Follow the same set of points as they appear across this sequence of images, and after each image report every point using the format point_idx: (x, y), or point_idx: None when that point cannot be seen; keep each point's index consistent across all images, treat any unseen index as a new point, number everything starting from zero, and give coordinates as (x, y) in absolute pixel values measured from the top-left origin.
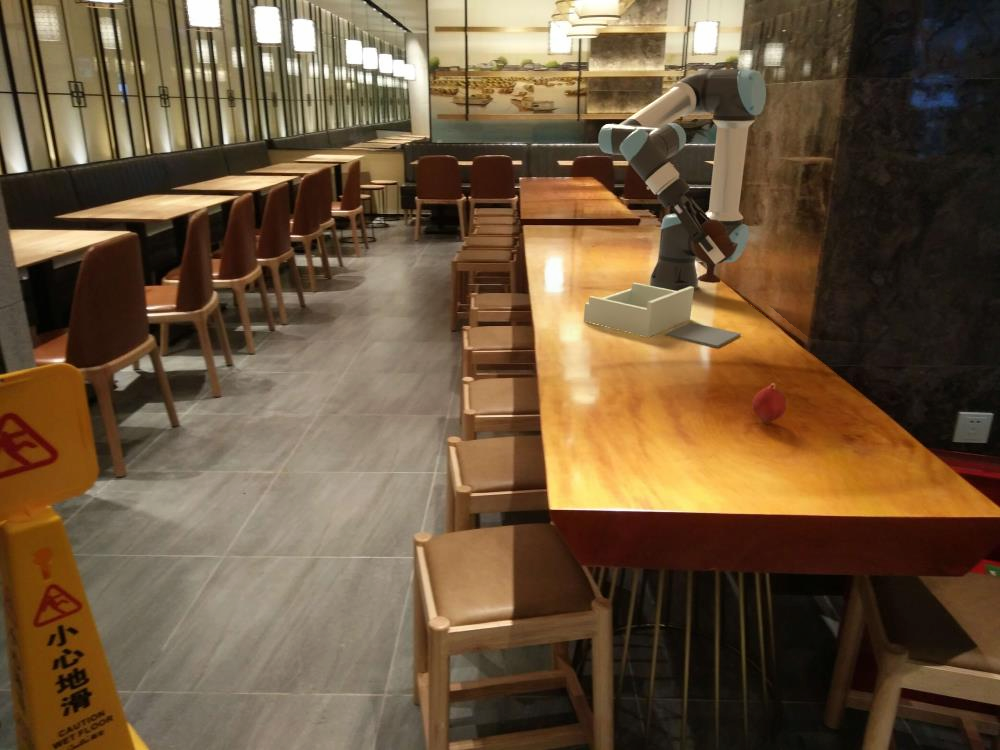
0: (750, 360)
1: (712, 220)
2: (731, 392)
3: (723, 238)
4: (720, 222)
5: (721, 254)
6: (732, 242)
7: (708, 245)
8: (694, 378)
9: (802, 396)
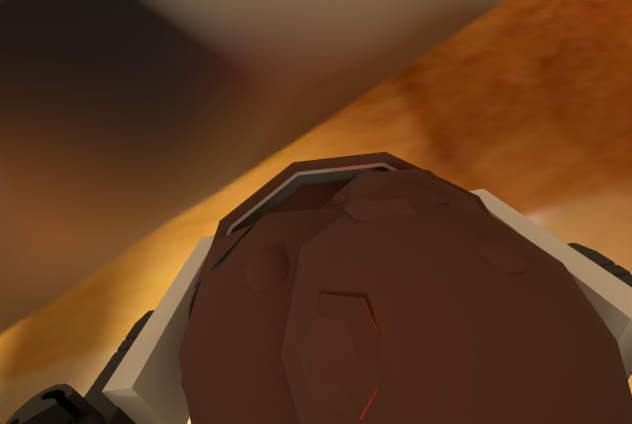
0: (431, 169)
1: (569, 401)
2: (624, 142)
3: (466, 196)
4: (456, 238)
5: (500, 202)
6: (257, 207)
7: (619, 275)
8: (618, 212)
9: (538, 65)
